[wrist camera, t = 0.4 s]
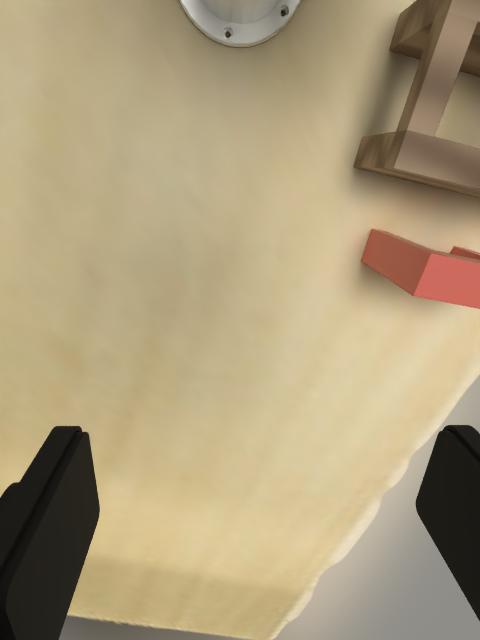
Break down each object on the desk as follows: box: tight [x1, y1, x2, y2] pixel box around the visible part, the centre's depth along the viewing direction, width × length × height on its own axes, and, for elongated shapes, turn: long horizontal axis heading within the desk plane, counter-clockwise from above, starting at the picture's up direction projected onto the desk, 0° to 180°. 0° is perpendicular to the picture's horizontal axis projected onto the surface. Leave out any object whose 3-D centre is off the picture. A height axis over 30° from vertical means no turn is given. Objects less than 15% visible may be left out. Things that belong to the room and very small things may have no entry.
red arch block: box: [361, 229, 480, 309], centre depth 39 cm, size 4×13×13 cm, turn 78°
